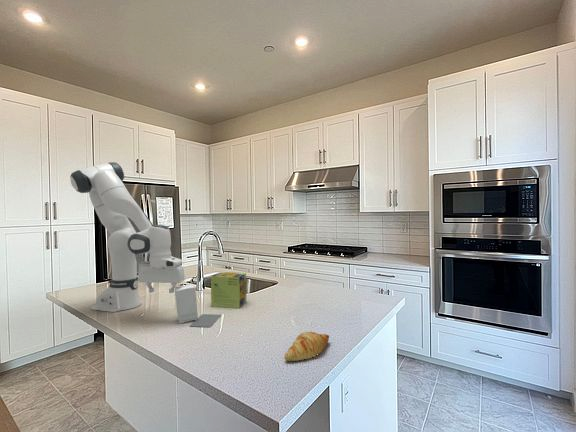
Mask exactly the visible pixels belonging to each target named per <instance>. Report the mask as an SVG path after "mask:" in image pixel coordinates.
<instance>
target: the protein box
mask: <svg viewBox="0 0 576 432" xmlns="http://www.w3.org/2000/svg"><path fill="white" fill-rule="evenodd" d="M246 303H247V272H233V271H230V272H227V271H219V272H217V273H215V274H212V275H210V306H211V307H214V308H215V307H216V308H217V307H218V308H229V309H230V308H231V309H240V308H241V307H243V306H244V305H245V304H246Z"/></svg>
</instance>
